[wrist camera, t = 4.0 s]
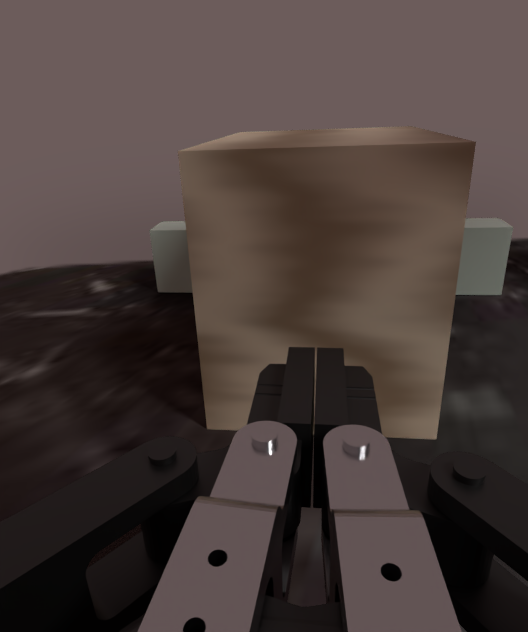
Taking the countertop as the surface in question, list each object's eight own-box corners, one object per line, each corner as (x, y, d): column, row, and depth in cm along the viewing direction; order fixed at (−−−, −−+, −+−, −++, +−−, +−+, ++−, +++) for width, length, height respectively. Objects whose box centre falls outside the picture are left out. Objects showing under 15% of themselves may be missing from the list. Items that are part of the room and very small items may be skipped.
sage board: (488, 281, 37) (499, 215, 35) (501, 295, 35) (513, 225, 33) (169, 279, 41) (161, 219, 39) (157, 292, 38) (149, 228, 36)
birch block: (395, 317, 32) (411, 126, 27) (435, 440, 20) (475, 141, 15) (249, 315, 33) (239, 132, 28) (207, 430, 21) (177, 151, 17)
